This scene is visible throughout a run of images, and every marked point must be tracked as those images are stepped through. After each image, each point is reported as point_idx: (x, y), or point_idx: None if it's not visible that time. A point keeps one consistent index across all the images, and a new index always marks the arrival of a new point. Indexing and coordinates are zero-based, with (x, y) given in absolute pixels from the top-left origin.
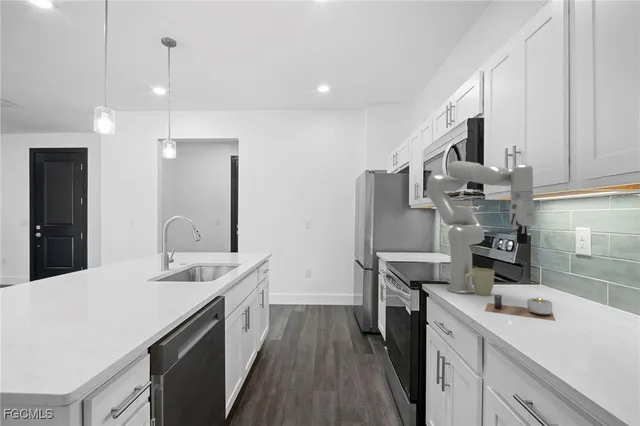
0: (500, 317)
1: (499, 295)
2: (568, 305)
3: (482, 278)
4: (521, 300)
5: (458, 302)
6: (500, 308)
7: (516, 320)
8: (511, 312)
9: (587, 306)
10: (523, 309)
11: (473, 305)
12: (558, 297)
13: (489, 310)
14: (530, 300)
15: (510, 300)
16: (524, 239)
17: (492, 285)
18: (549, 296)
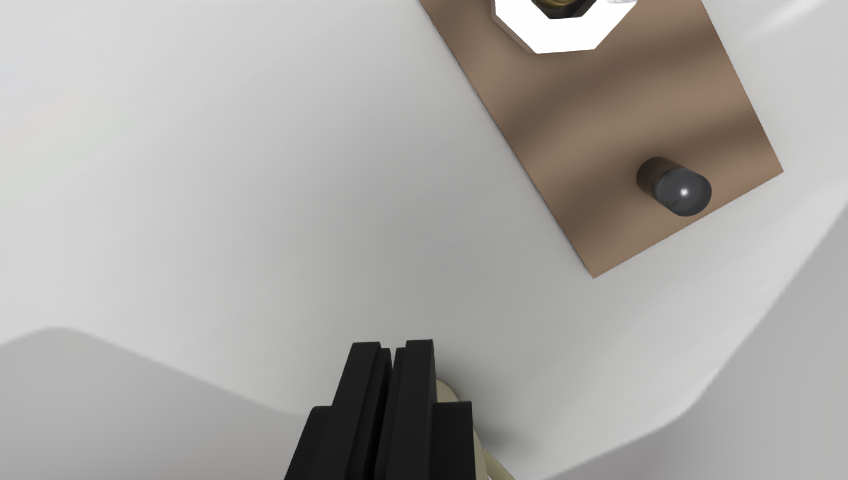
0: (753, 89)
1: (677, 192)
2: (127, 73)
3: (478, 461)
4: (292, 265)
5: (662, 384)
6: (664, 158)
7: (734, 8)
8: (676, 82)
9: (32, 4)
10: (544, 93)
11: (647, 312)
12: (9, 214)
13: (746, 167)
14: (610, 15)
15: (353, 292)
16: (430, 393)
17: None
18: (42, 251)
